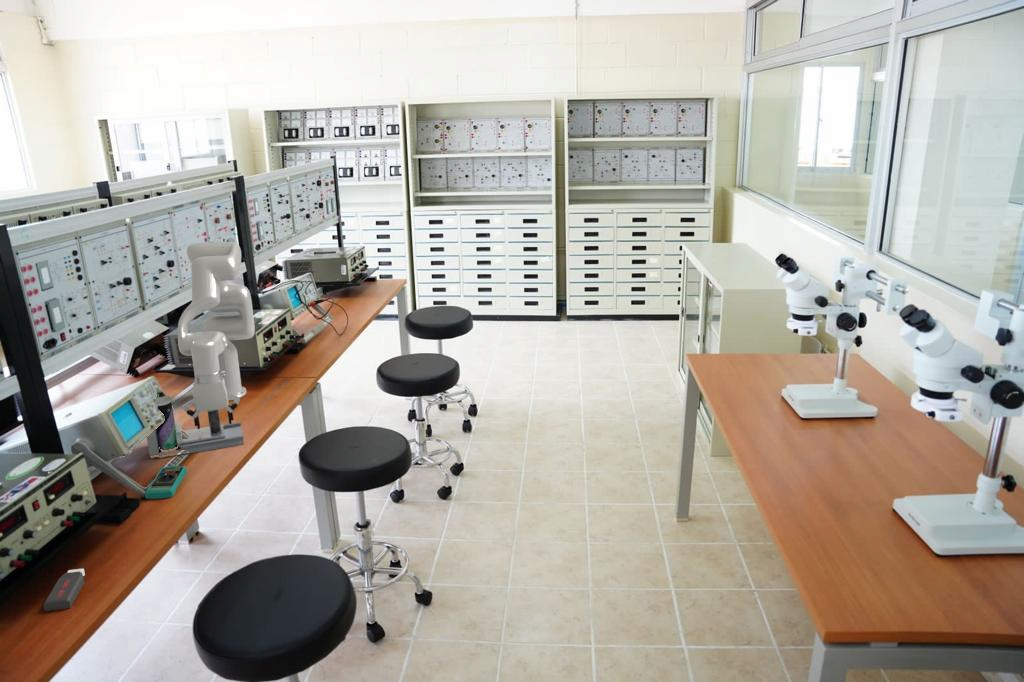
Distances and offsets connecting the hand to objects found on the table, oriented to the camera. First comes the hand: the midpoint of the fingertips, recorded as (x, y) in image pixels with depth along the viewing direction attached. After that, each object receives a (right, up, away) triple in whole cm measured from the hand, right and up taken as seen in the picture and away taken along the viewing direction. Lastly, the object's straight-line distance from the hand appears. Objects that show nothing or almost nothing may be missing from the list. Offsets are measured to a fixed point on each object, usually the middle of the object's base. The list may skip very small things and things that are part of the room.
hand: (214, 424), depth 224 cm
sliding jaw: (-4, -5, 0) cm, 6 cm away
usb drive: (-4, -31, -68) cm, 74 cm away
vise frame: (-5, -6, 0) cm, 8 cm away
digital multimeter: (-3, -15, -24) cm, 29 cm away
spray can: (-13, -7, -4) cm, 15 cm away
